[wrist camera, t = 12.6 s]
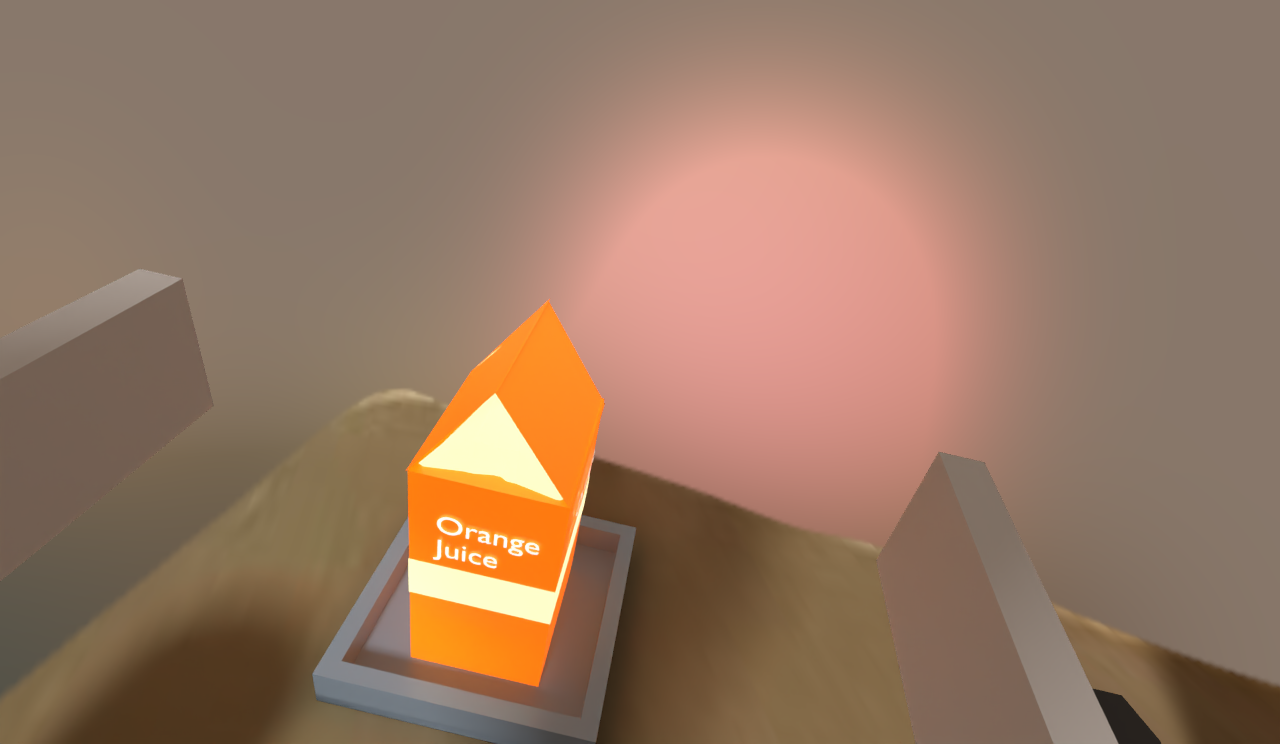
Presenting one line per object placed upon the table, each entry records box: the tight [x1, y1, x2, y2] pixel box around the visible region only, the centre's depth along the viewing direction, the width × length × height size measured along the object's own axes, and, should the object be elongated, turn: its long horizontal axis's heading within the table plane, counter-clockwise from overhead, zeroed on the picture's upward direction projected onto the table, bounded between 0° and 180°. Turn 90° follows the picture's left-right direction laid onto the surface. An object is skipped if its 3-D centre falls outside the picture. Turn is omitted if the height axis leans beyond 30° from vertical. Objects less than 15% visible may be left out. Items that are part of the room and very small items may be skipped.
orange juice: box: [407, 300, 605, 687], centre depth 35 cm, size 8×9×20 cm
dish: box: [312, 515, 636, 744], centre depth 40 cm, size 15×15×2 cm
